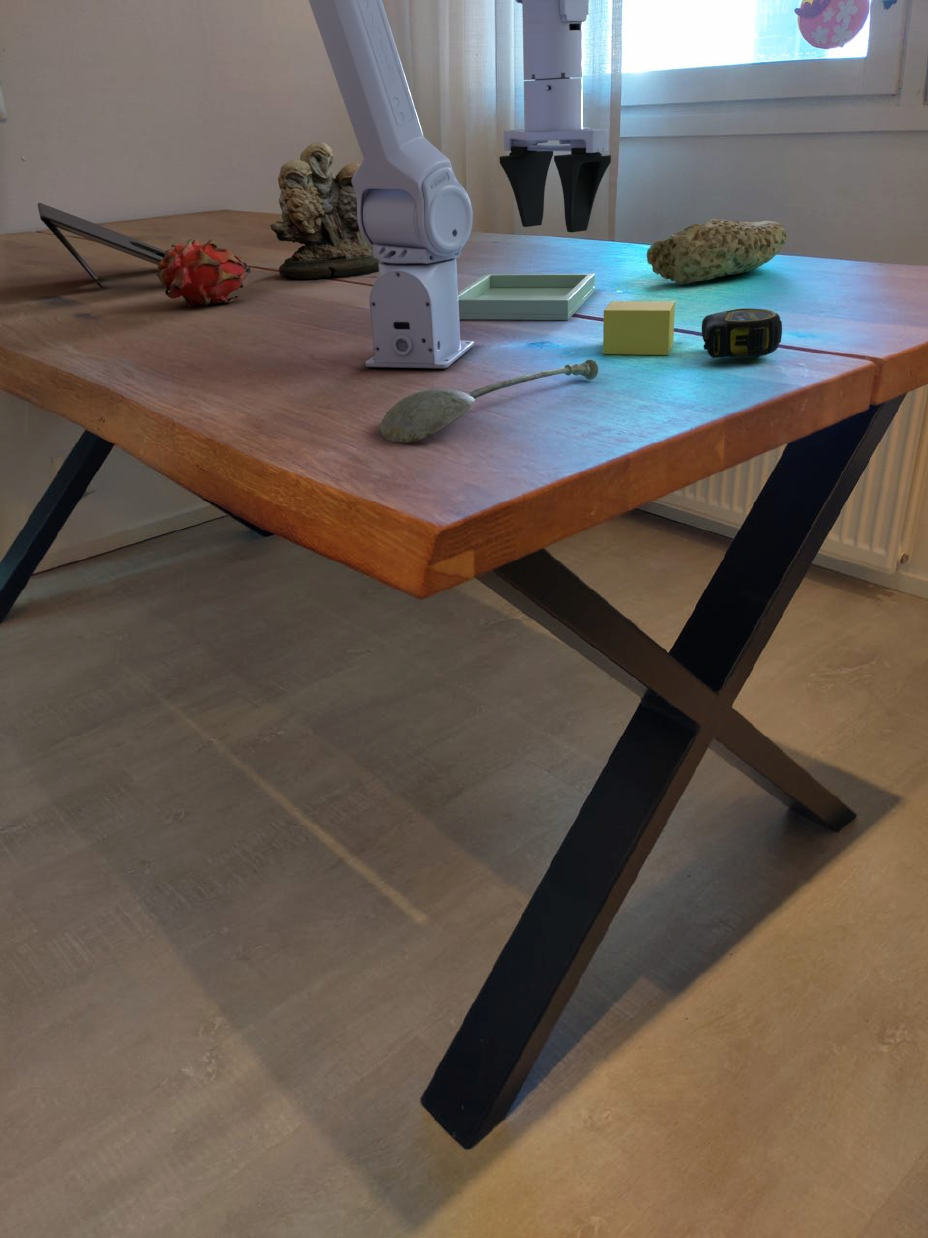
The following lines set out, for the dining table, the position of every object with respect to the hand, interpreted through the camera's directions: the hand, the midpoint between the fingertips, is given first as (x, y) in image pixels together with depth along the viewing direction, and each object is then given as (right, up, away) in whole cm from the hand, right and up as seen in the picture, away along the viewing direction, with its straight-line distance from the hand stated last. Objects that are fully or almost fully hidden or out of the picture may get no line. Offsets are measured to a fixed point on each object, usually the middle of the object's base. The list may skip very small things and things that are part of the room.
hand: (554, 228), depth 104 cm
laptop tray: (-58, +9, +44) cm, 73 cm away
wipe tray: (-2, -4, +13) cm, 14 cm away
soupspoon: (-6, -24, -24) cm, 35 cm away
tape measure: (+15, -17, -14) cm, 26 cm away
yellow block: (+7, -15, -9) cm, 19 cm away
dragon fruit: (-42, 0, +24) cm, 48 cm away
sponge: (+23, +3, +24) cm, 34 cm away
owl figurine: (-28, +10, +42) cm, 52 cm away
